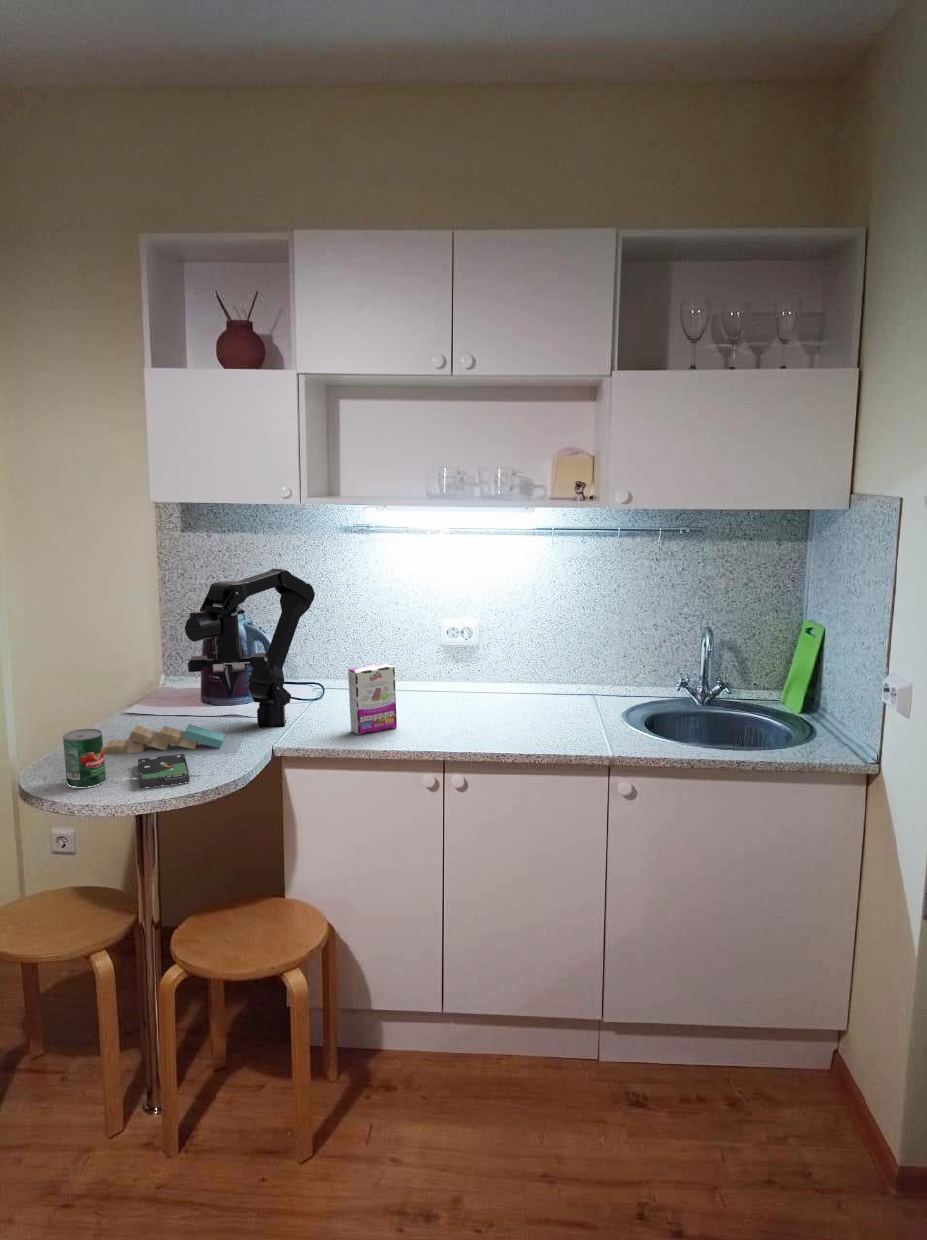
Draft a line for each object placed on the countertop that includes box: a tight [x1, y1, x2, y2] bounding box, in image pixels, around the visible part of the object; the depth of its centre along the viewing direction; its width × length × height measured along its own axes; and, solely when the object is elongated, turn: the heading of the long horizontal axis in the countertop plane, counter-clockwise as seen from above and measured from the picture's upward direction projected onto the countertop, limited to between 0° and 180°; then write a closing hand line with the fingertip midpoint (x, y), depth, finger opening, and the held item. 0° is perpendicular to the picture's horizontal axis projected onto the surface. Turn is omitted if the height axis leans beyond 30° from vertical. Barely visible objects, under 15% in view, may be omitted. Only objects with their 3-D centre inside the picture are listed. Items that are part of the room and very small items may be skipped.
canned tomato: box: [62, 728, 107, 787], centre depth 201 cm, size 8×8×11 cm
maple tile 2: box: [157, 725, 199, 750], centre depth 224 cm, size 2×5×9 cm
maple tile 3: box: [128, 724, 171, 751], centre depth 223 cm, size 2×5×9 cm
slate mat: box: [132, 737, 244, 758], centre depth 224 cm, size 24×12×1 cm, turn 96°
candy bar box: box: [347, 663, 398, 736], centre depth 237 cm, size 11×5×16 cm, turn 123°
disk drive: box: [137, 754, 191, 789], centre depth 206 cm, size 10×3×15 cm
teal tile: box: [183, 724, 226, 749], centre depth 224 cm, size 2×5×9 cm
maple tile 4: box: [103, 738, 148, 755], centre depth 223 cm, size 2×5×9 cm
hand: (230, 696), depth 230 cm, fingers closed
